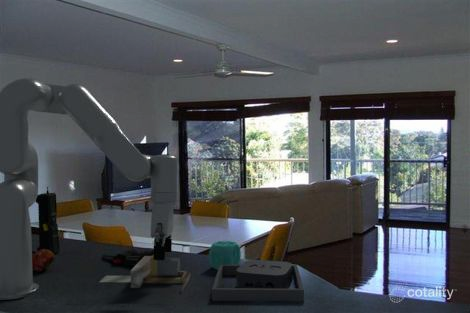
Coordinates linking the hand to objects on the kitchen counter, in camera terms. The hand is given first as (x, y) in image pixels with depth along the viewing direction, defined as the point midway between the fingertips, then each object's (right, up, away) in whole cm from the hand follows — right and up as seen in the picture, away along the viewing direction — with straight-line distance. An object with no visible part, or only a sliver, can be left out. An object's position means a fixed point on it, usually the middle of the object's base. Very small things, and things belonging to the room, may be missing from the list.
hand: (162, 255), depth 138 cm
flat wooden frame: (-6, -8, +1) cm, 10 cm away
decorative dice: (+18, -8, +18) cm, 26 cm away
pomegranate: (-41, -9, +16) cm, 45 cm away
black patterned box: (-14, -8, +22) cm, 27 cm away
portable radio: (-48, -8, +37) cm, 61 cm away
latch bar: (+2, -7, 0) cm, 7 cm away
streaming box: (+30, -9, 0) cm, 31 cm away
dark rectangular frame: (+28, -8, -3) cm, 29 cm away
